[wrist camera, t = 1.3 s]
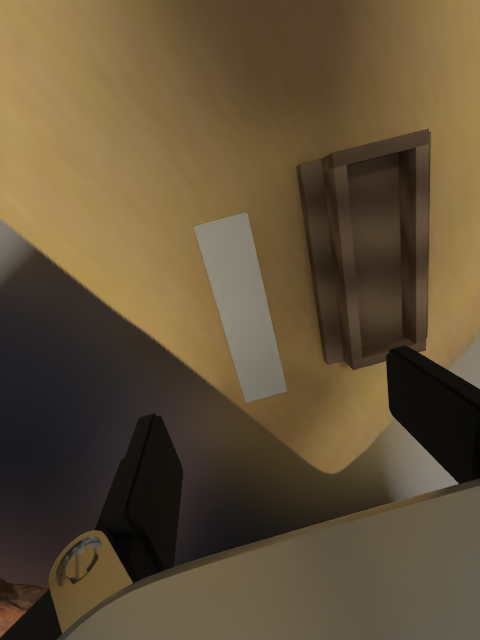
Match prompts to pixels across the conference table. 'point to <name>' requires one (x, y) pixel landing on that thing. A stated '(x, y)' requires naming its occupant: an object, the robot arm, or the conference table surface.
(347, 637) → the robot arm
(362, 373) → the conference table surface
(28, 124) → the conference table surface
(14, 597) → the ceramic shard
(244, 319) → the light grey block
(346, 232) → the rack
